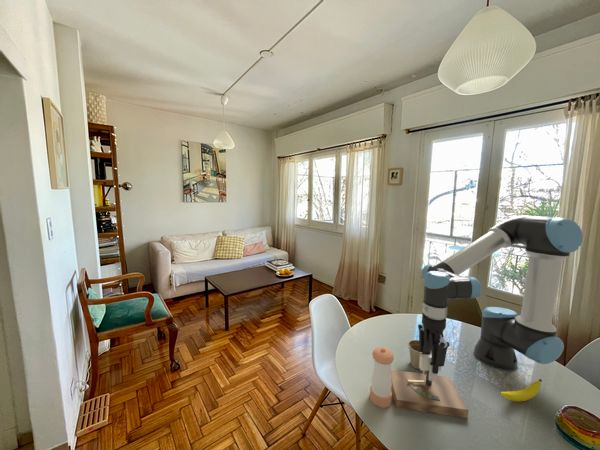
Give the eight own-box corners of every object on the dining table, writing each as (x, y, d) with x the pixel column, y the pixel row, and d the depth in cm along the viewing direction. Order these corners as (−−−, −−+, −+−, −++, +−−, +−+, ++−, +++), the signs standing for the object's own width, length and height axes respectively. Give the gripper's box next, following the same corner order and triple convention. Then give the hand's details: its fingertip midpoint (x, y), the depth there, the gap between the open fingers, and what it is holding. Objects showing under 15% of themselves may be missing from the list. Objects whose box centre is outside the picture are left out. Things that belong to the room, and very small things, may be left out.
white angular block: (436, 382, 92) (439, 354, 90) (439, 386, 90) (442, 358, 88) (406, 380, 92) (408, 353, 91) (409, 385, 90) (411, 357, 89)
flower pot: (434, 374, 100) (435, 354, 99) (409, 371, 102) (410, 351, 101) (427, 359, 109) (428, 341, 108) (404, 356, 111) (405, 338, 110)
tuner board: (448, 384, 95) (449, 376, 95) (467, 418, 80) (468, 409, 80) (388, 376, 99) (388, 368, 98) (396, 407, 84) (397, 398, 83)
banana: (494, 402, 87) (496, 385, 86) (534, 392, 92) (536, 376, 91) (503, 409, 84) (505, 391, 83) (543, 398, 89) (546, 382, 88)
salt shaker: (377, 410, 83) (380, 356, 81) (365, 393, 90) (368, 343, 88) (395, 405, 85) (399, 353, 83) (383, 389, 92) (386, 340, 90)
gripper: (411, 306, 95) (407, 363, 97) (440, 327, 79) (435, 394, 82) (428, 305, 96) (424, 361, 99) (461, 325, 81) (455, 391, 83)
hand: (429, 376), depth 90 cm, fingers closed on white angular block, 2 cm apart
